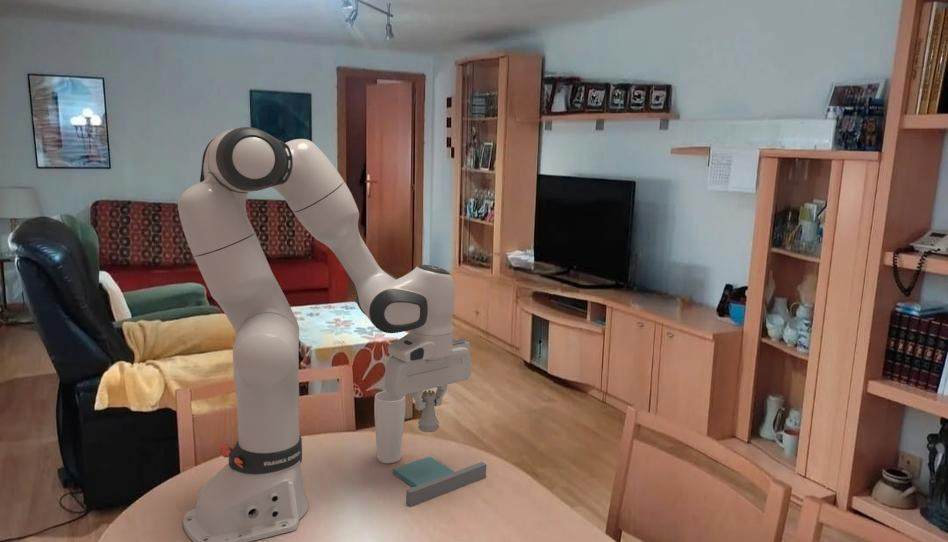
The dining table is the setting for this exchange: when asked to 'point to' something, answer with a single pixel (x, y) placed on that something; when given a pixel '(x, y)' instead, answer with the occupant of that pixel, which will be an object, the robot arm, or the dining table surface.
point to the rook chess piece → (428, 413)
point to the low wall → (445, 484)
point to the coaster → (421, 471)
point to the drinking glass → (389, 426)
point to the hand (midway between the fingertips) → (428, 407)
